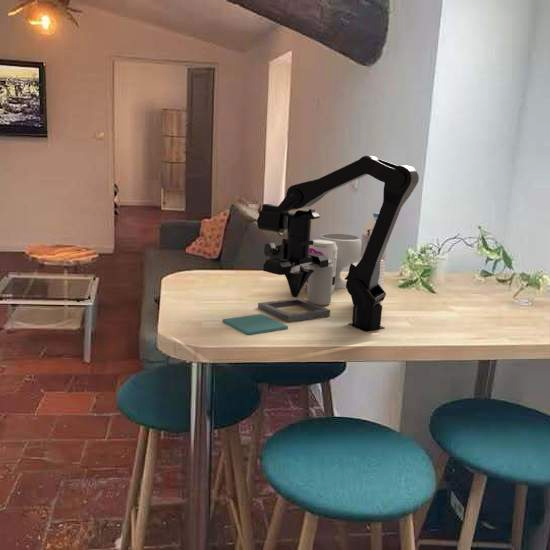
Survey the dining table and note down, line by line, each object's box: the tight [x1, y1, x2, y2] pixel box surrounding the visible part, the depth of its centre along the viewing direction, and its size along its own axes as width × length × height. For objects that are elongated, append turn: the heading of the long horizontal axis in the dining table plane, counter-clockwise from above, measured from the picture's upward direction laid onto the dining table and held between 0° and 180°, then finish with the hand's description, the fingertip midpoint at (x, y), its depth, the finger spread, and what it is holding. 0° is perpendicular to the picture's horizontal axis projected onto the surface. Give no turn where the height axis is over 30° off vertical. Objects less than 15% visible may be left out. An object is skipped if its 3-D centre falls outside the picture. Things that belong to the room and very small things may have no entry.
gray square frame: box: [257, 297, 331, 323], centre depth 158 cm, size 13×13×2 cm
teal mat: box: [222, 313, 289, 336], centre depth 145 cm, size 11×11×1 cm
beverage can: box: [306, 259, 333, 307], centre depth 166 cm, size 6×6×12 cm
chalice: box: [318, 233, 362, 289], centre depth 188 cm, size 14×14×15 cm
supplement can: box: [304, 238, 337, 295], centre depth 177 cm, size 8×8×15 cm
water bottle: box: [359, 212, 388, 305], centre depth 166 cm, size 7×7×25 cm
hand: (294, 297), depth 157 cm, fingers closed
